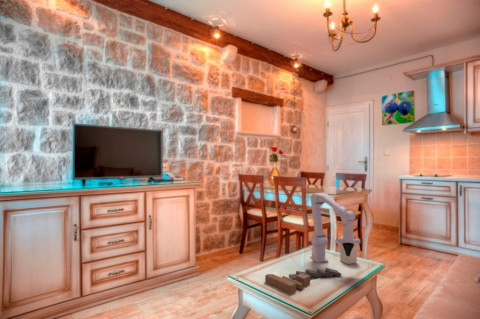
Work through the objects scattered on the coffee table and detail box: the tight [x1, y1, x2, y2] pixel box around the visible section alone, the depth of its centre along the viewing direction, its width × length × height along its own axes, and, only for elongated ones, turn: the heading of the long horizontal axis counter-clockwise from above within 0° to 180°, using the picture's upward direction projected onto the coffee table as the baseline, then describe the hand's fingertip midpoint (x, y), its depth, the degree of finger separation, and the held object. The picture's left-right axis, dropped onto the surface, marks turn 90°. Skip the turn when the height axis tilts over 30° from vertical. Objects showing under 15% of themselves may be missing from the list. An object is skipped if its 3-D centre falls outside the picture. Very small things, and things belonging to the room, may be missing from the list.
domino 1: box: [288, 273, 297, 281], centre depth 147 cm, size 2×5×7 cm
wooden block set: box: [264, 273, 311, 295], centre depth 140 cm, size 17×6×18 cm
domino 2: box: [295, 270, 313, 280], centre depth 147 cm, size 2×5×7 cm
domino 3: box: [304, 268, 322, 279], centre depth 149 cm, size 2×5×7 cm
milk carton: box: [339, 234, 358, 265], centre depth 172 cm, size 7×7×19 cm
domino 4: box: [315, 268, 333, 278], centre depth 150 cm, size 2×5×7 cm
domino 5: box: [324, 267, 342, 277], centre depth 151 cm, size 2×5×7 cm
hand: (347, 255), depth 153 cm, fingers closed
